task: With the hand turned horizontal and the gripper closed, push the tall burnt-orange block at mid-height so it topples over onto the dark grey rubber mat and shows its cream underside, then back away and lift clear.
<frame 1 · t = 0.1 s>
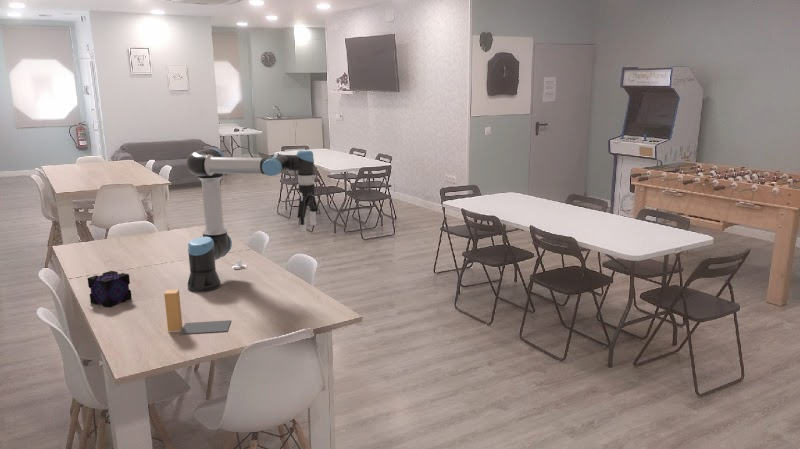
hand: (308, 228, 286), 28 cm above the table, tool pointing down, fingers open, 13 cm apart
energy cube: (111, 301, 271), on the table
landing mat: (206, 327, 240), on the table
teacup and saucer: (233, 268, 320), on the table
tall block: (175, 329, 239), on the table
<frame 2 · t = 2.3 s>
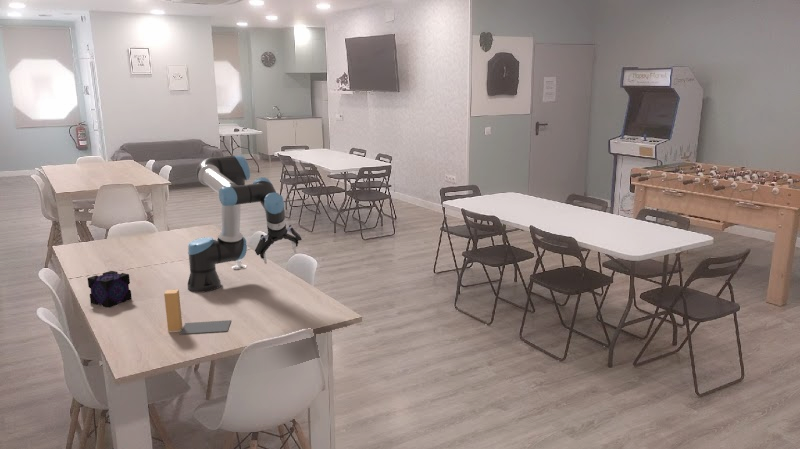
hand: (279, 256, 263), 21 cm above the table, tool tilted 35°, fingers open, 13 cm apart
nothing on the table moved.
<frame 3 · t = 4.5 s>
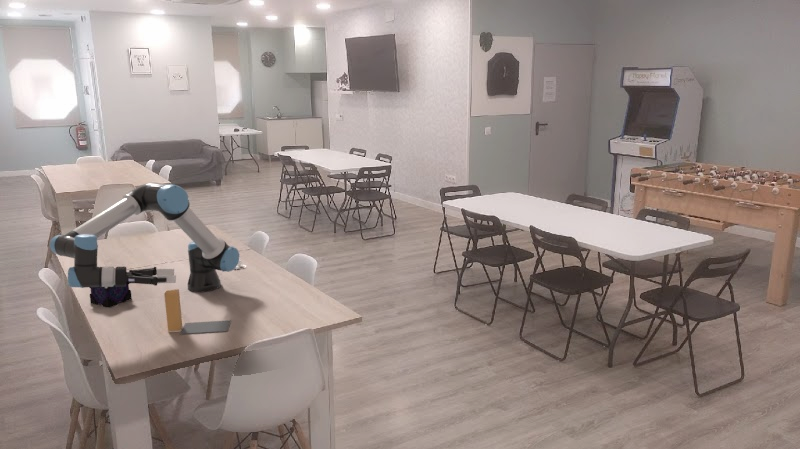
hand: (175, 275, 235), 22 cm above the table, tool horizontal, fingers open, 13 cm apart
nothing on the table moved.
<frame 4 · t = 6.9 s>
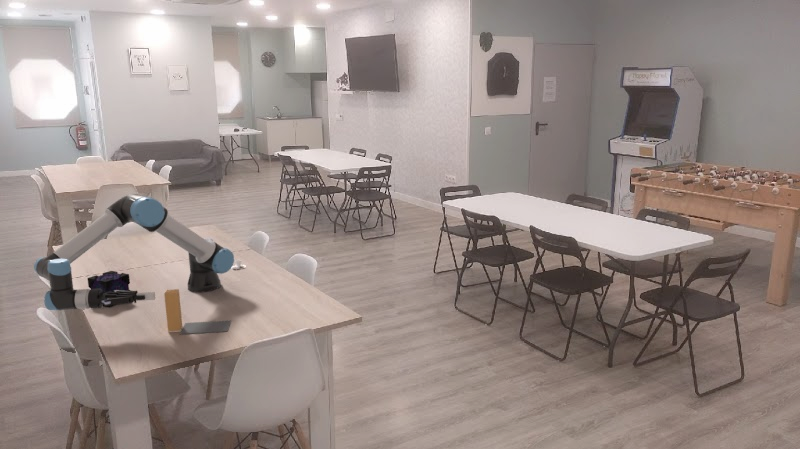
hand: (154, 295, 234), 15 cm above the table, tool horizontal, fingers closed
nothing on the table moved.
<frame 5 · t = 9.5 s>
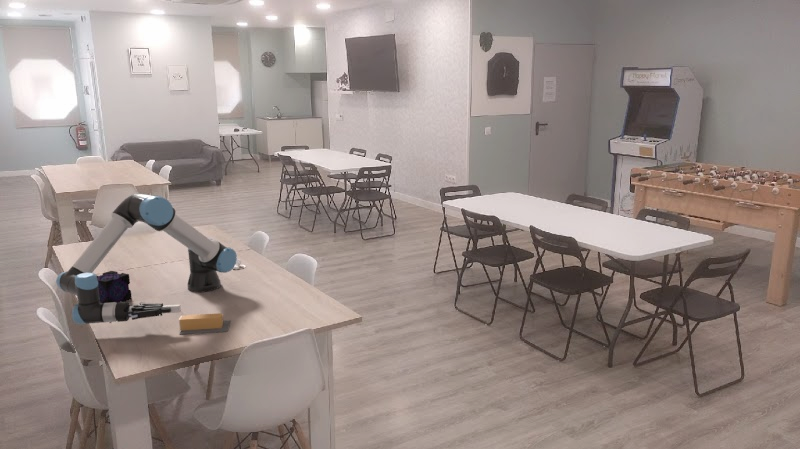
hand: (180, 308, 237), 9 cm above the table, tool horizontal, fingers closed
tall block: (180, 323, 239), point 3 cm above the table, tilted 90°, touching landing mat
everything else where it was.
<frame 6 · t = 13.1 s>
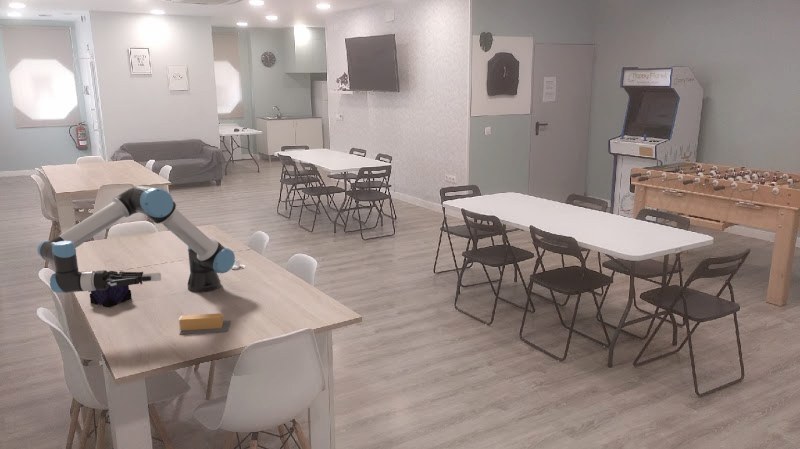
hand: (160, 276, 233), 22 cm above the table, tool horizontal, fingers closed
nothing on the table moved.
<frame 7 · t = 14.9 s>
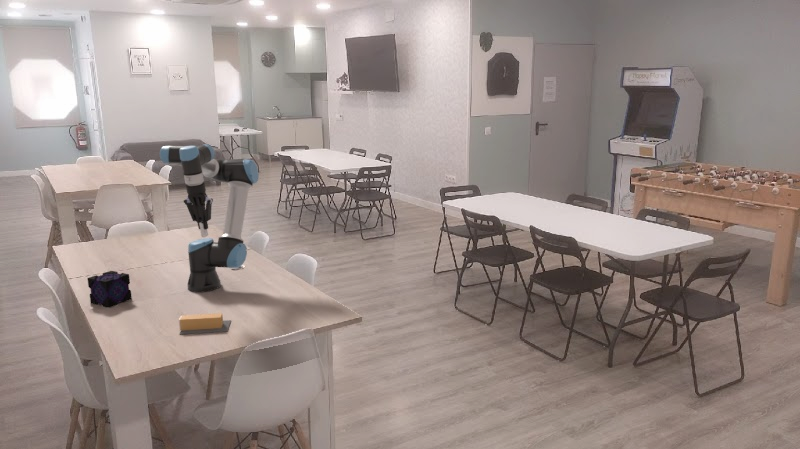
hand: (205, 236, 259), 31 cm above the table, tool pointing down, fingers closed
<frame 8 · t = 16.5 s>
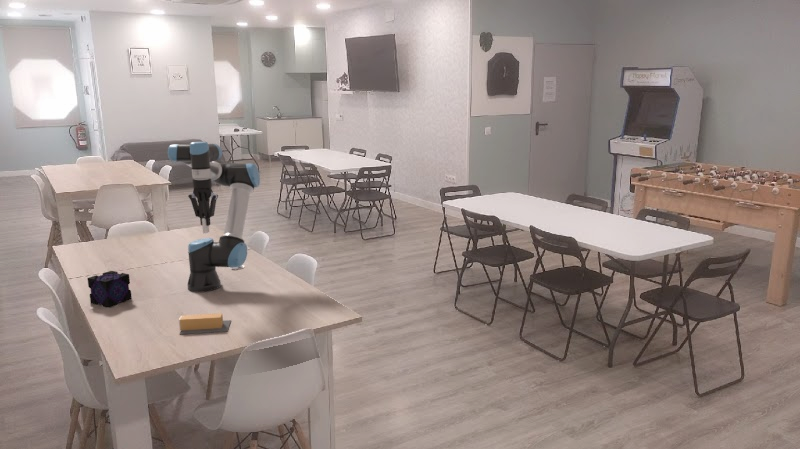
hand: (206, 232, 260), 32 cm above the table, tool pointing down, fingers closed
at the end: tall block tilted 90°; tall block touching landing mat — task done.
